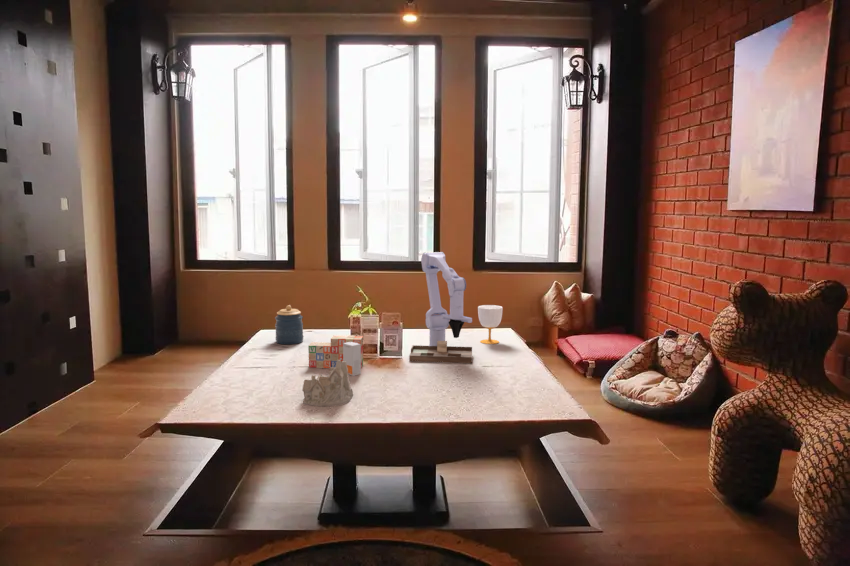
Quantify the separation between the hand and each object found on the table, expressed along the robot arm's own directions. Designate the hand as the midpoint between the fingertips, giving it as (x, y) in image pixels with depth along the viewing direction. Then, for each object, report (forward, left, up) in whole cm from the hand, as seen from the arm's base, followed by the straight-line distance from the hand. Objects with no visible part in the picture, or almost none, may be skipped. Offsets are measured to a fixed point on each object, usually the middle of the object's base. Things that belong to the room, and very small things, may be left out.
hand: (456, 337), depth 260 cm
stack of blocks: (+19, -48, -9) cm, 52 cm away
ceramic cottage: (+59, -41, -9) cm, 72 cm away
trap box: (+2, -6, -9) cm, 11 cm away
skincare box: (+29, -39, -9) cm, 49 cm away
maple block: (-1, -6, -6) cm, 9 cm away
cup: (-31, +15, -9) cm, 36 cm away
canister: (-21, -80, -9) cm, 84 cm away
